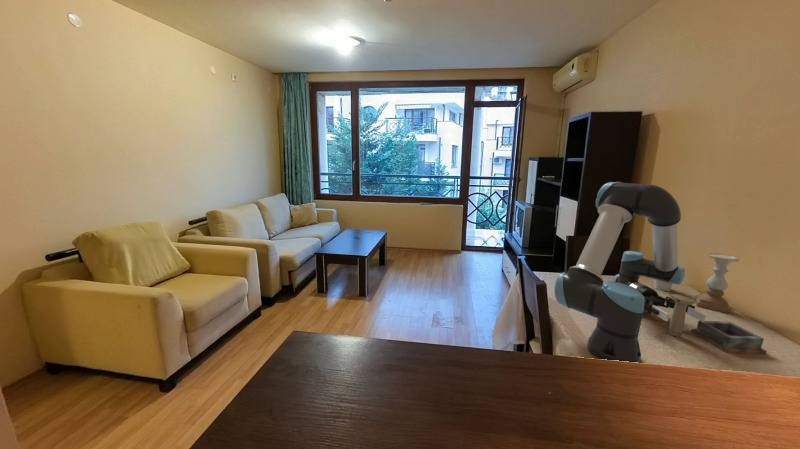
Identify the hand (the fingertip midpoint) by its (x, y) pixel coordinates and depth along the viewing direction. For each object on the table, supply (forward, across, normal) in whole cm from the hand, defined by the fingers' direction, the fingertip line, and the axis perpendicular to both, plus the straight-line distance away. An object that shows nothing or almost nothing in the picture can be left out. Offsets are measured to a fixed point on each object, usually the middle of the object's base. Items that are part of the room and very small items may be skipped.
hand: (685, 318), depth 120 cm
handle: (-3, 0, -9) cm, 9 cm away
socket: (+1, -16, -8) cm, 18 cm away
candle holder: (-30, -40, -9) cm, 51 cm away
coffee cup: (-50, -33, -9) cm, 60 cm away
